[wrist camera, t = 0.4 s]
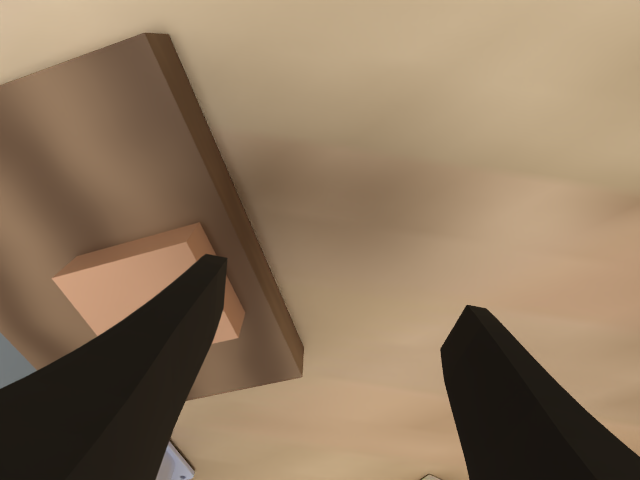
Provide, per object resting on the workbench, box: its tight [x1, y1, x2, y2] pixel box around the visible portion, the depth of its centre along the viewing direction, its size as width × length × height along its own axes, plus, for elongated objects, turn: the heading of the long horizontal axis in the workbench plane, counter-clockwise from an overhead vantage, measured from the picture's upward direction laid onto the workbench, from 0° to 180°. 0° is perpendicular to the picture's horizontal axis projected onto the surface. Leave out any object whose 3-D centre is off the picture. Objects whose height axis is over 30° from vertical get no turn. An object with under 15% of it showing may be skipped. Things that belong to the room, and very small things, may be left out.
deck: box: [0, 33, 304, 401], centre depth 21 cm, size 16×20×2 cm
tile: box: [52, 222, 245, 344], centre depth 19 cm, size 7×6×2 cm
